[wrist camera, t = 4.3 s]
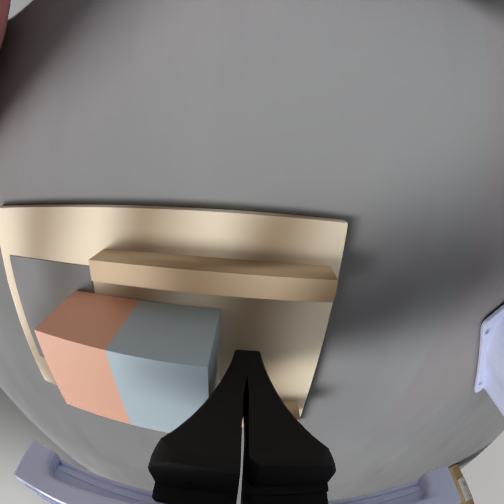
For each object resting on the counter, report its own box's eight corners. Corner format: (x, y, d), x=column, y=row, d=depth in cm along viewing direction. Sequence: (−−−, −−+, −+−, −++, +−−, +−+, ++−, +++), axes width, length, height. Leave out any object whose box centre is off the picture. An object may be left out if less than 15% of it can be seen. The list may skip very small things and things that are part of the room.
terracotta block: (140, 300, 13) (105, 350, 9) (151, 372, 14) (131, 424, 11) (76, 290, 13) (34, 329, 9) (94, 360, 14) (67, 403, 11)
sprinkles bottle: (435, 474, 25) (455, 533, 12) (459, 460, 24) (482, 517, 11) (435, 479, 26) (454, 533, 13) (458, 466, 25) (479, 519, 12)
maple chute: (343, 219, 12) (359, 232, 10) (296, 420, 17) (298, 443, 15) (1, 206, 12) (-21, 214, 10) (48, 375, 16) (36, 391, 14)
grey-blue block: (220, 309, 13) (207, 367, 9) (219, 382, 14) (211, 439, 11) (139, 300, 13) (105, 350, 9) (152, 373, 14) (131, 424, 11)
